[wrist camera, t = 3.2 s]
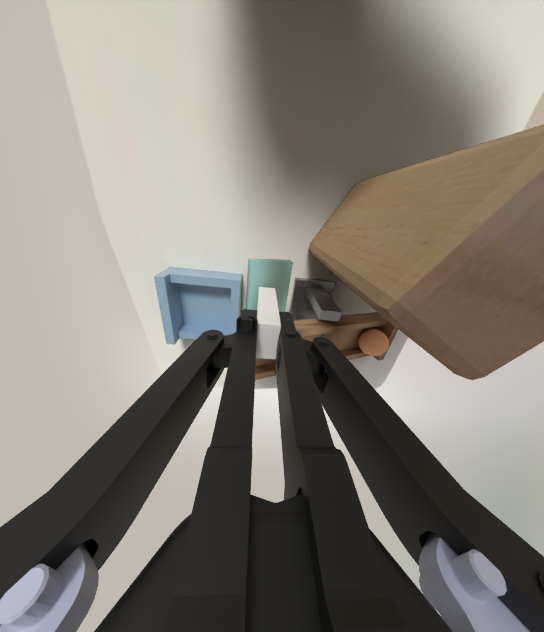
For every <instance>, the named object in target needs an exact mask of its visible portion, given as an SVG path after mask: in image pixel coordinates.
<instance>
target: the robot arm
mask: <svg viewBox="0 0 544 632" xmlns="http://www.w3.org/2000/svg"><path fill="white" fill-rule="evenodd" d="M276 356H277V360H276V366H275V372H274V373H276V374H277V387H278V400H279V413H280V426H281V438H282V451H283V464H284V477H285V492H284V501H281V502H278V503H273V502H270V501H267V500H265V499H261V498H259V497H256V496H253V495H250V491H251V467H252V428H253V407H254V387H255V365H256V358H263V359H276ZM226 367H228V370H227V374H226V379H225V383H224V388H223V392H222V397H221V401H220V406H219V410H218V415H217V419H216V424H215V428H214V433H213V437H212V442H211V445H210V447H209V448H208V449H207V452H206V455H205V459H204V463H203V467H202V472H201V476H200V480H199V484H198V489H197V493H196V497H195V501H194V506H193V510H192V514H191V515H189V516H188V517H187V518H186V519H185V520H183V521H182V522H181V524H180V525H179V526H178V527H177V528H176V529H175V530H174V531H173V532H172V534H171V535H170V536H169V537H168V538H167V540H166V541H165V542H164V544H163V545H162V546H161V547H160V548H159V550H158V551H157V552H156V554H155V555H154V556H153V557H152V559H151V560H150V561H149V563H148V564H147V565H146V566H145V568H144V569H143V570H142V571H141V573H140V574H139V575H138V577H137V578H136V579H135V580H134V582H133V583H132V584H131V585H130V587H129V588H128V589H127V591H126V592H125V593H124V594H123V596H122V597H121V598H120V599H119V601H118V602H117V603H116V605H115V606H114V607H113V608H112V610H111V611H110V612H109V613H108V615H107V616H106V617H105V619H104V620H103V621H102V623H101V624H100V625H99V626H98V627H97V629H96V630H95V631H94V632H544V557H543V556H542V555H541V554H540V553H538V552H537V551H536V550H535V549H534V548H533V547H531V546H530V545H529V544H528V543H527V542H526V541H524V540H523V539H522V538H521V537H520V536H518V535H517V534H516V533H515V532H514V531H512V530H511V529H510V528H509V527H507V525H505V524H504V523H503V522H502V521H501V520H499V519H498V518H497V517H496V516H495V515H493V514H492V513H491V512H490V511H488V510H487V509H486V508H485V507H484V506H483V505H482V504H480V503H479V502H478V501H477V500H476V499H474V498H473V497H472V496H471V495H469V494H468V493H467V492H466V491H465V490H464V489H463V488H462V487H461V486H460V485H459V483H457V482H456V480H455V479H454V478H453V477H452V476H451V475H450V473H449V472H448V471H447V470H446V469H445V468H444V467H443V466H442V465H441V463H440V462H439V461H438V460H437V459H436V458H435V457H434V455H433V454H431V452H430V451H429V450H428V449H427V448H426V447H425V445H424V444H423V443H422V442H421V441H420V440H419V439H418V438H417V436H416V435H415V434H414V433H413V432H412V431H411V430H410V429H409V428H408V426H407V425H406V424H405V423H404V422H403V421H402V420H401V418H400V417H399V416H398V415H397V414H396V413H395V412H394V411H393V410H392V408H391V407H390V406H389V405H388V404H387V403H386V402H385V401H384V400H383V398H382V397H381V396H380V395H379V394H378V393H377V392H376V390H375V389H374V388H373V387H372V386H371V385H370V384H369V383H368V381H367V380H366V379H365V378H364V377H363V376H362V375H361V374H360V373H359V371H358V370H357V369H356V368H355V367H354V366H353V365H352V364H351V362H350V361H349V360H348V359H347V358H346V357H345V356H344V355H343V353H342V352H341V351H340V350H339V349H338V348H337V347H336V346H335V344H334V343H333V342H332V341H330V340H329V339H327V338H324V337H316V338H314V339H313V342H312V341H308V340H305V339H303V338H302V337H301V335H300V333H299V332H297V331H296V328H295V324H294V321H293V317H292V315H291V314H290V313H289V312H279V310H278V303H277V297H276V290H275V288H267V287H259V292H258V304H257V310H249V309H244V310H243V311H242V312H241V316H239V317H238V318H237V320H236V332H235V333H233V334H230V335H224V334H223V333H222V332H221V331H219V330H208V331H205V332H203V333H202V334H201V335H200V336H199V337H198V338H197V339H196V340H195V341H194V342H193V343H192V344H191V345H190V346H189V347H188V348H187V349H186V350H185V352H184V353H183V354H182V355H181V356H180V357H179V358H178V359H177V360H176V361H175V362H174V363H173V364H172V365H171V366H170V367H169V368H168V369H167V370H166V371H165V372H164V373H163V374H162V375H161V376H160V377H159V378H158V379H157V380H156V381H155V382H154V383H153V384H152V385H151V386H150V388H148V389H147V391H146V392H145V393H144V394H143V395H142V396H141V397H140V398H139V399H138V400H137V401H136V402H135V403H134V404H133V405H132V406H131V407H130V408H129V409H128V410H127V411H126V412H125V413H124V414H123V415H122V416H121V417H120V418H119V419H118V420H117V421H116V422H115V423H114V424H113V425H112V426H111V427H110V429H109V430H108V431H107V432H106V433H105V434H104V435H103V436H102V437H101V438H100V439H99V440H98V441H97V442H96V443H95V444H94V445H93V446H92V447H91V448H90V449H89V450H88V451H87V452H86V453H85V454H84V455H83V456H82V457H81V458H80V459H79V460H78V462H77V463H75V464H74V465H73V466H72V468H71V469H70V470H69V471H68V472H67V473H66V474H65V475H64V476H63V477H62V478H61V479H60V480H59V481H58V482H57V483H56V484H55V485H54V486H53V487H52V488H51V489H50V490H49V491H48V492H47V493H45V494H44V495H43V496H42V497H40V498H39V499H37V500H36V501H35V502H33V503H32V504H31V505H29V506H28V507H27V508H25V509H24V510H23V511H22V512H20V513H19V514H17V515H16V516H15V517H14V518H12V519H11V520H9V521H8V522H7V523H5V524H4V525H3V526H1V527H0V632H76V631H77V629H78V628H79V626H80V624H81V623H82V621H83V620H84V618H85V617H86V615H87V613H88V611H89V609H90V607H91V605H92V603H93V600H94V598H95V594H96V591H97V587H98V577H99V575H98V570H99V569H100V568H101V567H102V565H103V564H104V563H105V561H106V560H107V559H108V557H109V556H110V554H111V553H112V552H113V551H114V549H115V548H116V546H117V545H118V544H119V542H120V541H121V540H122V538H123V537H124V535H125V533H126V532H127V530H128V529H129V527H130V526H131V524H132V523H133V521H134V519H135V518H136V516H137V515H138V513H139V511H140V510H141V508H142V506H143V504H144V502H145V501H146V500H147V498H148V496H149V494H150V493H151V491H152V489H153V488H154V486H155V484H156V483H157V481H158V479H159V478H160V476H161V474H162V473H163V471H164V469H165V468H166V466H167V464H168V463H169V461H170V459H171V458H172V456H173V454H174V453H175V451H176V449H177V448H178V446H179V444H180V443H181V441H182V439H183V437H184V436H185V434H186V432H187V431H188V429H189V427H190V426H191V424H192V422H193V421H194V419H195V417H196V416H197V414H198V412H199V411H200V409H201V407H202V405H203V404H204V402H205V401H206V399H207V397H208V396H209V394H210V392H211V391H212V389H213V387H214V386H215V384H216V382H217V381H218V379H219V377H220V376H221V374H222V372H223V370H224V368H226ZM326 370H327V371H326ZM322 405H323V407H324V409H325V411H326V412H327V414H328V416H329V418H330V420H331V421H332V423H333V425H334V427H335V428H336V430H337V432H338V434H339V436H340V437H341V439H342V441H343V443H344V444H345V446H346V448H347V450H348V452H349V453H350V455H351V457H352V458H353V460H354V462H355V464H356V466H357V467H358V469H359V471H360V473H361V475H362V476H363V478H364V480H365V482H366V484H367V485H368V487H369V489H370V491H371V492H372V494H373V496H374V498H375V500H376V501H377V503H378V505H379V507H380V508H381V510H382V512H383V514H384V515H385V517H386V519H387V520H388V522H389V524H390V525H391V527H392V528H393V530H394V532H395V533H396V535H397V536H398V538H399V539H400V541H401V542H402V544H403V545H404V547H405V548H406V549H407V551H408V552H409V554H410V555H411V556H412V558H413V559H414V560H415V562H416V563H417V564H418V565H419V571H420V580H419V583H420V587H421V590H422V592H423V594H424V595H423V594H422V593H421V592H420V590H419V589H418V588H417V587H416V585H415V584H414V583H413V582H412V580H411V579H410V578H409V577H408V576H407V574H406V573H405V572H404V571H403V569H402V568H401V567H400V566H399V564H398V563H397V562H396V561H395V560H394V558H393V557H392V556H391V555H390V553H389V552H388V551H387V550H386V548H385V547H384V546H383V545H382V544H381V542H380V541H379V540H378V539H377V537H376V536H375V535H374V534H373V533H372V531H371V530H370V529H369V528H368V525H367V522H366V519H365V515H364V513H363V509H362V506H361V503H360V500H359V497H358V494H357V491H356V488H355V485H354V482H353V479H352V476H351V473H350V470H349V467H348V464H347V462H346V459H345V456H344V454H343V453H342V452H341V450H339V449H336V448H335V447H334V444H333V441H332V438H331V434H330V431H329V428H328V425H327V421H326V418H325V414H324V411H323V408H322ZM434 608H435V609H436V610H437V611H438V612H439V613H440V615H441V616H440V615H439V614H438V613H437V611H436V610H435V609H434ZM442 618H443V619H442Z"/></svg>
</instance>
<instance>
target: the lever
mask: <svg viewBox="0 0 544 632" xmlns="http://www.w3.org/2000/svg"><path fill="white" fill-rule="evenodd" d="M292 264H293V262H292V261H290V260H271V259H249V260H248V278H247V296H246V309H249V310H257V304H258V292H259V287H267V288H275V290H276V297H277V303H278V310H279V312H285V307H286V300H287V294H288V288H289V282H290V276H291V270H292ZM294 324H295V328H296V331H297V332H299V333H300V335H301V337H302V338H303V339H305V340H308V341H312V342H313V339H314V338H316V337H324V338H327V339H329V340H330V341H332V342H333V343H334V344H335V346H336V347H337V348H338V349H339V350H340V351H341V352H342V353H343V355H344V356H345V357H346V358H347V359H348V360H350V359H355V358H360V357H364V356H369V355H367V354H365V353H364V352H363V351H362V350H361V348H360V346H359V338H360V336H361V334H362V333H363V332H365V331H367V330H371V329H375V330H379V331H381V332H383V333H384V334H385V335H386V336H387V338H388V341H389V346H390V345H391V343H392V341H393V339H394V337H395V335H396V333H397V331H398V328H397V327H395V326H394V325H393V324H391V323H390V322H389V321H388V320H386V319H385V318H384V317H383V316H381V315H380V314H379V313H378V312H375V313H365V314H355V315H345V316H341V317H340V320H339V321H330V320H319V318H315V319H305V320H295V321H294ZM388 348H389V347H388ZM387 350H388V349H387ZM386 352H387V351H386ZM386 352H385V353H384V354H382V355H380V356H373V357H375V358H376V359H377V360H382V359H383V358H384V356H385V354H386ZM276 360H277V356H276V359H263V358H256V365H255V380H256V379H261V378H266V377H270V376H275V375H277V374H276V373H274V372H275V366H276Z"/></svg>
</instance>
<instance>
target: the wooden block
mask: <svg viewBox="0 0 544 632" xmlns="http://www.w3.org/2000/svg"><path fill="white" fill-rule="evenodd" d="M309 250H310V252H311V253H312V254H313V255H314V256H315V257H316V258H317V259H318V260H319V261H321V262H322V263H323V264H324V265H325V266H326V267H327V268H328V269H330V270H331V271H332V272H333V273H334V274H335V275H336V276H337V277H339V278H340V279H341V280H342V281H343V282H344V283H345V284H346V285H348V286H349V287H350V288H351V289H352V290H353V291H354V292H356V293H357V294H358V295H359V296H360V297H361V298H362V299H363V300H365V301H366V302H367V303H368V304H369V305H370V306H371V307H372V308H374V309H375V310H376V311H377V312H378V313H379V314H380V315H381V316H383V317H384V318H385V319H386V320H388V321H389V322H390V323H391V324H393V325H394V326H395V327H397V328H398V329H399V330H400V331H402V332H403V333H404V334H405V335H407V336H408V337H409V338H410V339H412V340H413V341H414V342H416V343H417V344H418V345H419V346H420V347H422V348H423V349H424V350H425V351H427V352H428V353H429V354H430V355H432V356H433V357H434V358H435V359H437V360H438V361H439V362H441V363H442V364H443V365H445V366H446V367H447V368H448V369H449V370H451V371H452V372H453V373H454V374H457V375H459V376H462V377H464V378H467V379H470V380H474V379H478V378H482V377H485V376H486V375H488V374H490V373H492V372H493V371H495V370H497V369H498V368H500V367H502V366H503V365H505V364H507V363H508V362H510V361H512V360H513V359H515V358H517V357H518V356H520V355H522V354H523V353H525V352H527V351H528V350H530V349H532V348H533V347H535V346H537V345H538V344H540V343H542V342H543V341H544V125H541V126H538V127H534V128H531V129H528V130H525V131H521V132H518V133H515V134H512V135H508V136H505V137H502V138H499V139H495V140H492V141H489V142H486V143H482V144H479V145H476V146H473V147H469V148H466V149H463V150H460V151H456V152H453V153H450V154H447V155H443V156H440V157H437V158H434V159H430V160H427V161H424V162H421V163H418V164H414V165H411V166H408V167H405V168H401V169H398V170H395V171H392V172H388V173H385V174H382V175H379V176H375V177H372V178H369V179H366V180H362V181H360V182H359V183H357V184H356V185H355V186H354V187H353V188H352V190H351V191H350V192H349V193H348V195H347V196H346V197H345V199H344V200H343V201H342V203H341V204H340V205H339V206H338V208H337V209H336V210H335V212H334V213H333V214H332V216H331V217H330V218H329V219H328V221H327V222H326V223H325V225H324V226H323V227H322V229H321V230H320V231H319V232H318V234H317V235H316V236H315V238H314V239H313V240H312V242H311V243H310V246H309Z"/></svg>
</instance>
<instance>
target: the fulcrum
mask: <svg viewBox="0 0 544 632" xmlns="http://www.w3.org/2000/svg"><path fill="white" fill-rule="evenodd" d="M334 284H335V283H334V282H332V281H322V280H313V279H303V278H295V282H294V287H293V293H292V298H291V304H290V310H289V313H290V314H291V315H292V317H293V321H295V320H305V319H315V318H319V320H330V321H339V320H340V317H341V314H342V311H341V310H340V309H339V308H338V306H337V305H336V304H335V302H334V301H333V300H332V299H331V295H332V291H333V288H334Z"/></svg>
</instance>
